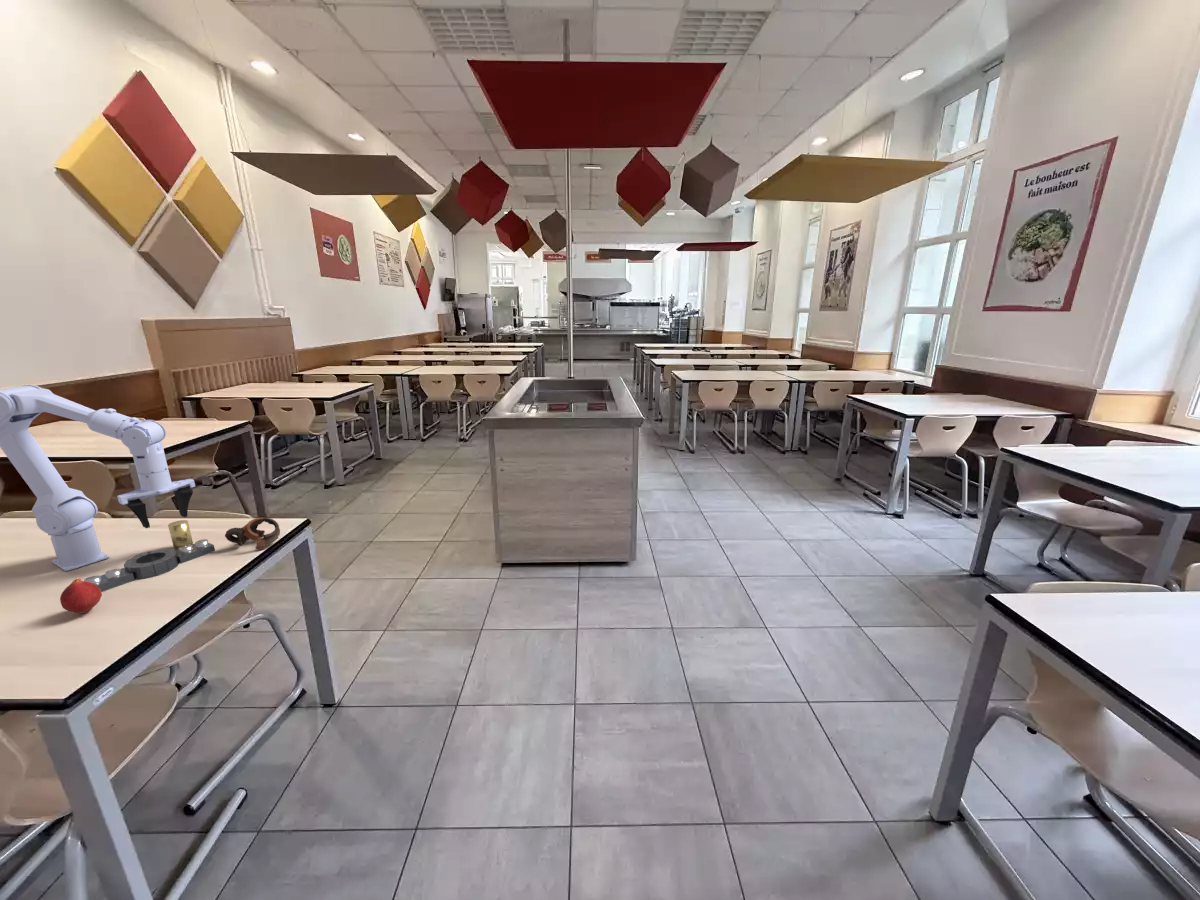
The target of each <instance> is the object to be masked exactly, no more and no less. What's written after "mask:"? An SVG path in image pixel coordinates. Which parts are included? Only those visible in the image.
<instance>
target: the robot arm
mask: <svg viewBox="0 0 1200 900" xmlns="http://www.w3.org/2000/svg"><path fill="white" fill-rule="evenodd" d="M42 413H49V414H52V415H55V416H59V417H61V418H62V417H63V418H66V419H68V420H69V419H70V420H73V421H77V422H80V423H83V424H86V425H87V427H88V429H89V430H90V431H92V432H96V433H98V434H101V435H103V436H107V437H110V438H114V439H116V440H120V441H121V443H122V444H123V445H124V446H125V447H126V448H127V449H129V453H130V455H132V458H133V462H134V465H135V466H134V467H135V469H136V474H137V477H138V482H139V485H140V488H139V489H135V490H132V491H130V492H126V493H123V494H119V495H116V496H117V500H118V503H119V505H122V506H123V505H125V506H126V507H127V508H129V509H130V511H132V513H133V514H135V516H136V517H137V518H138V520H139V521H140V523H141V525H142V527H143V528H145V529H148V528H151V525H150V520H149V518H148V515H147V509H146V507H147V506H146V505H147V504H146V503H144V502H143V501H142V500H144V499H149V498H152V497H157V496H160V495H163V494H168V493H173V494H174V497H175V500H176V501H177V506H178V511H179V512H178V513H179V515H180V517H183V518H188V510H189V503H190V500H191V498H192V495H193V494H194V490H193V489H192V488H195V487H196V483H195V480H194V479H192V478H186V479H181V480H175V481H172V479H171V475H170V471H169V466H168V463H167V458H166V453H165V450H164V445H163V440H164V439H165V437H166V434H167V433H166V429H165V427H164V426H163V425H162V423H159V422H158V421H155V420H154V419H146V420H140V419H139V418H138V417H131V416H127V415H125V414H122V413H119V412H117V410H116V409H114V408H111V407H110V408H100V409H98V410H95V409H93V408H90V407H87V406H84V405H82V404H81V403H77V402H75V401H72V400H69V399H68V398H65V397H62V396H59V395H57V394H55V393H53V392H52V391H51V390H50V389H48V388H43V387H40V386H38V385H35V384H34V385H33V384H26V385H25V384H24V385H22V386H18V387H17V386H16V387H9V388H3V389H0V449H1V451H2V452H3V453H4V454H5V456H6V457H7V459H8V460H9V462H10V463H11V464H12V466H13V467H14V468H15V470H16V471H17V472H18V473H19V475H20V476H21V478H22V479H23V480H24V482H25V484H26V485H28V487H29V489H30V490H31V492H32V493H33V494H34V496H35V497H36V501H35V502H34V504H33V507H32V509H31V511H32V513H33V515H34V516H35V519H36V520H35V523H36V524H37V525H36V526H37V527H38V529H39V530H41V531H42V532H44V533H46V534H47V536H50V540H51V541H50V542H51V544H52V547H53V549H54V553H55V557H56V558H55V559H52V560H51V562H52V563H53V564H54V565H55V566H57V567H59V568H60V569H62V570H63V571H65V572H68V571H72V570H76V569H78V568H81V567H85V566H88V565H90V564H93V563H97V562H100V561H104V560H107V559H109V558H110V555H108V554H106V553H104V552H103V551H102V550H101V546H100V543H99V539H98V536H97V534H96V530H95V526H94V524H93V523H95V519H94V518H95V517H96V516H97V515H98V512H99V509H98V506H97V504H96V503H95V502H94V501H93V500H92V499H90V498H88V497H87V496H86V495H85V494H84V492H83V491H82V490H79V489H76V488H71V487H69V486H68V485H67V483H66V482H65V481H64V479H63V478H62V476H61V474H60V473H59V472H58V470H57V469H56V468H55V466H54V464H53V463H52V462H51V460H50V459H49V458H48V456H47V455H46V454H45V452H44V450H43V449H42V447H41V446H40V444H39V443H38V441H36V439H35V438H34V436H33V434H32V433H31V432H30V431H29V427H30V426H31V423H32V422H33V420H35V419H36V418H37V417H38V416H39V415H41V414H42Z"/></svg>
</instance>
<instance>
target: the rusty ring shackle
mask: <svg viewBox="0 0 1200 900" xmlns="http://www.w3.org/2000/svg"><path fill="white" fill-rule="evenodd" d="M263 523H268V525H273V526H274V530H273V531H272V532H271V533H270V532H269V533H266V534H265V532H266V531H265V530H262V529H258V526H259V525H262V524H263ZM280 534H281V529H280V524H279V522H277V521H276V520H274V519H272V518H269V517H256V518H253V519H251V520H249V521H248V522H247V523H246V524H245V525H244V526H242V527H233V528H229V529H227V531H226V532H225V534H224V537H225V538H226V540H227V541H228V542H231V543H233V544H236V545H238V546H239V547H241V546H243V545H244V544H245V543H246V542H247V541H249V540H251V541H253V542H256V546H255V550H257V551H263V550H264V549H265V548H266V546H269V545H271V544H272V543H274V542H275V541H277V539H278V538H279V536H280Z"/></svg>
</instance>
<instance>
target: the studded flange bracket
mask: <svg viewBox="0 0 1200 900" xmlns="http://www.w3.org/2000/svg"><path fill="white" fill-rule="evenodd" d="M214 552H216V548H215V544H213V543H210V542H209V539H206V538H204V539H203V538H202V539H200V540H197V541H195V543H193V545H184V546H181V547H180V548H179V549H178V550H174V548H158V549H153V550H149V551H145V552H141V553H139V554H136V555H134V556H132V557H130V558H128V559H127V560H125V562H124V563H123V568H113V569H110V570H108V571H106V572H104V574H101V575H98V574H97V575H92V576H89V577H87V578H84V580H83V581H86V582H90V583H93V584H95V585H96V586H98V587H99V588H100V590H101V593H102V592H103V593H104V592H105V591H108V590H111V589H114V588H116V587H119V586H123V585H125V584H127V583H130V582H132V581H133V582H134V581H135V580H144V579H148V578H149V579H150V578H153V577H157V576H161V575H163V574H166V573H169V572H170V571H173V570H174V569H175V568H177V567H178V566H179V564H183V563H186V562H189V561H192V560H194V559H197V558H200V557H202V556H205V555H208V554H211V553H214Z"/></svg>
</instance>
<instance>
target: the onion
mask: <svg viewBox="0 0 1200 900" xmlns="http://www.w3.org/2000/svg"><path fill="white" fill-rule="evenodd" d="M102 594H103V593H102V592H101V590H100V588H99V587H98V586H96V585H95V584H93V583H90V582H86V581H84V580H82V578H81V577H76V578H74V580H73V581H72V582H71V583H70V584H69V585H68V586H66V587H65V588H64V590H63V591H62V592H61V595H60V598H59V601H60V604H61V605H60V606H62V608H63V610H65V611H66V612H67V611H68V612H71V613H77V614H88V613H89V612H90V611H92V610H93V608H94V607H95V606H97V604H98V603H99V602H100V601H101V598H102Z"/></svg>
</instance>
